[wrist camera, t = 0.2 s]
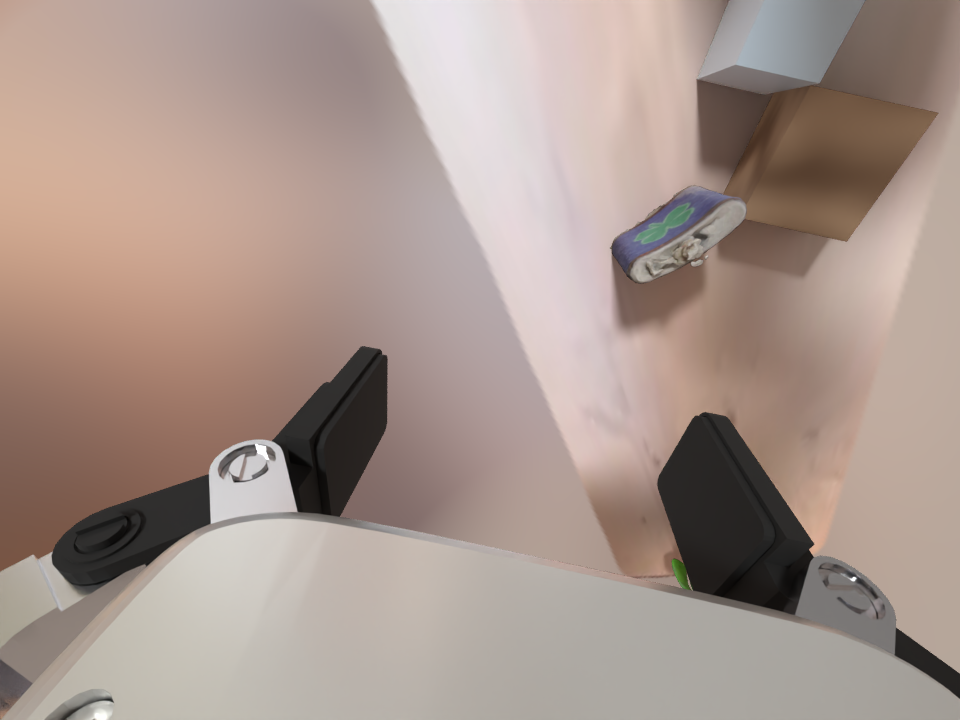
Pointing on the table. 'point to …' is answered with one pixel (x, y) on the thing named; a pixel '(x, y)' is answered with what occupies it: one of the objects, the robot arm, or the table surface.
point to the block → (824, 159)
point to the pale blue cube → (777, 43)
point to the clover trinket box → (677, 233)
